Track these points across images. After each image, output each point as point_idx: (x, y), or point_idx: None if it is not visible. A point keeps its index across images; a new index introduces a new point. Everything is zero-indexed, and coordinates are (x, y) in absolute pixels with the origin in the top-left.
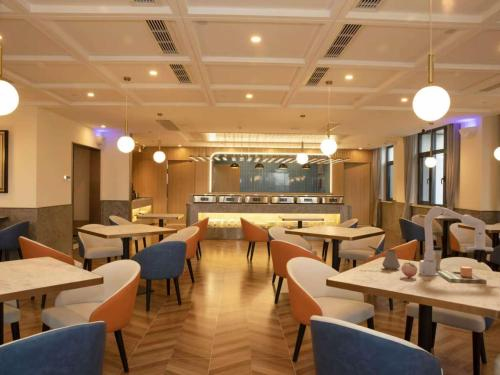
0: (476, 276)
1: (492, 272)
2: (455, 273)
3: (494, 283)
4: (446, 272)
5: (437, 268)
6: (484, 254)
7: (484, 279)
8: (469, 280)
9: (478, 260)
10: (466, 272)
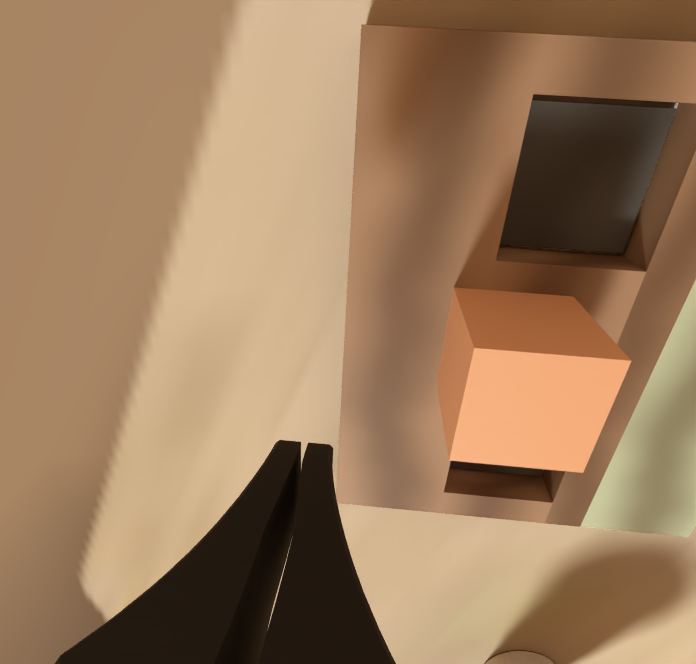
0: (384, 303)
1: (103, 580)
2: (510, 485)
3: (231, 86)
4: (648, 473)
5: (519, 655)
6: (137, 601)
7: (365, 95)
8: (638, 40)
9: (333, 481)
10: (547, 318)
